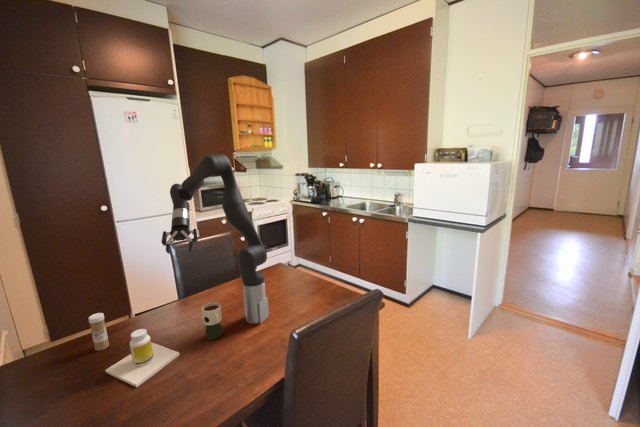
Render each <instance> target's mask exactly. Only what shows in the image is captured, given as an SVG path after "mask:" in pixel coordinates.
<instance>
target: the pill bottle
mask: <svg viewBox="0 0 640 427" xmlns="http://www.w3.org/2000/svg"><path fill="white" fill-rule="evenodd" d="M130 339H131V340H130V341H129V348H130V354H131V355H132V360H133V364H134V365H135V366H143V365H145V364H147V363H149V362H150V361H151V360H152V359H153V350H152V344H151V342H152V339H151V336H150V335H149V334H148V330H147V329H146V328H139V329H136V330H134V331H132V332H131V333H130Z"/></svg>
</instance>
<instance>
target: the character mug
mask: <svg viewBox="0 0 640 427" xmlns="http://www.w3.org/2000/svg"><path fill="white" fill-rule="evenodd" d="M222 314H223V312H222V304H221V303H220V302H218V301H212V302H208V303H206V304H204V305H202V306H201V316H202V323H203V325H204V326H206V327H205V336H206V338H207V340H211V341H212V340H215V339H218V338H219V337H221V336H222V335H223V329H222V325H221V322H222V318H223V315H222Z"/></svg>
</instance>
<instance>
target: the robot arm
mask: <svg viewBox="0 0 640 427" xmlns="http://www.w3.org/2000/svg"><path fill="white" fill-rule="evenodd" d="M210 177H213V178H214V177H220V178H221V179H222V183H223V186H224V192H223V198H222V202H221V203H222V210H223V212H224V215H225V217H226V220H227V221H228V223H229V224H230V226H232V227H233V228H234V229H235V230H236V231H238V232H239V233H240V234H241V235H242V237H244V239H245V241H246V243H247V245H248V246H246V247H244V248H241V249H240V250H239V251H238V255H237V259H238V260H237V262H238V267H239V269H238V270H239V275H240V278H241V281H242V291H243V293H242V294H243V304H244V314H245V322H247V323H248V324H251V325H252V324H254V325H255V324H262V323H264V322H265V321H266V320H267V319H269V317H270V314H269V313H270V311H269V299H268V297H267V296H266V283H265V282H266V281H265V274H264V273H263V272H260V271H256V267H259V266H262V265H263V264H265V263H266V261H267V260H268V259H267V258H268V254H267V250H266V248H265V246H264V243H263V242H262V240H261V238H260V236H259V234H258V232H257V231H256V228H255V225H254V223H253V221H252V218H251V216H250V214H249V210H248V208H247V206H246V203H245V201H244V199H243V196H242V193H241V191H240V188H239V186H238V183H237V179H236V177H235V172H234V170H233V166H232V163H231V160H230V159H229V157H228V156H227V155H226V154H219V153H218V154H207V155H205V156H203V157H202V159H201V160H200V161H199V162H198V164H197V166H196V168H194V170H193V171H192V173H191V174H190V175H189V176H188V177H187V178H185V179H184V180H183V181H182V183H181V184H180V183H174V184H172V185H171V186H170V190H169V194H170V199H171V202H172V214H171V228H170V231H168V232H167V231H165V230H164V231H162V237H161V244H162V246H165V252H166V253H167V254H168V255H169V254H171V245H172V244H174V243H175V242H181V241H185V240H186V241H187V242H188V252H192V251H193V250H194V247H193V246H194V243H198V242H199V241H198V231H197V229H196V228H193V229H190V223H191V222H190V221H191V216H190V202H189V201H191V200H193V198H194V195H195V193H196V192H197V191H198V190H200V189H201V188H202V187H203V185H204V182H205V179H208V178H210ZM190 235H193V238H191V237H190ZM168 238H169V239H168Z"/></svg>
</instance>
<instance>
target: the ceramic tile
mask: <svg viewBox="0 0 640 427" xmlns="http://www.w3.org/2000/svg"><path fill="white" fill-rule="evenodd" d="M151 344H152V350H153V359H152V360H151V361H150V362H149V363H147V364H145V365H143V366H135V365H134V364H133V360H132V355H131V353H130V354H128V355H127V356H125V357H124V358H122V359H121V360H119V361H117V362H116V363H114V364H112V365H111V366H110V367H107V368H106V369H105V373H106V374H108V375H110V376H112V377H115V378H116V379H118V380H121V381H122V382H125V383H127V384H128V385H131V386H133V387H135V388H138V387H139V386H141V385H142V384H143V383H145V382H146V381H147V380H149V379H150V378H151V377H153V376H154V375H156V373H158V372H159V371H160V370H162V369H164V368H165V367H166V366H167V365H168V364H170V363H171V362H172V361H174V360H176V358H178V357H179V356H180V352H179V351H176V350H173V349H171V348H168V347H165V346H162V345H160V344H157V343H154V342H152V341H151Z"/></svg>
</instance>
